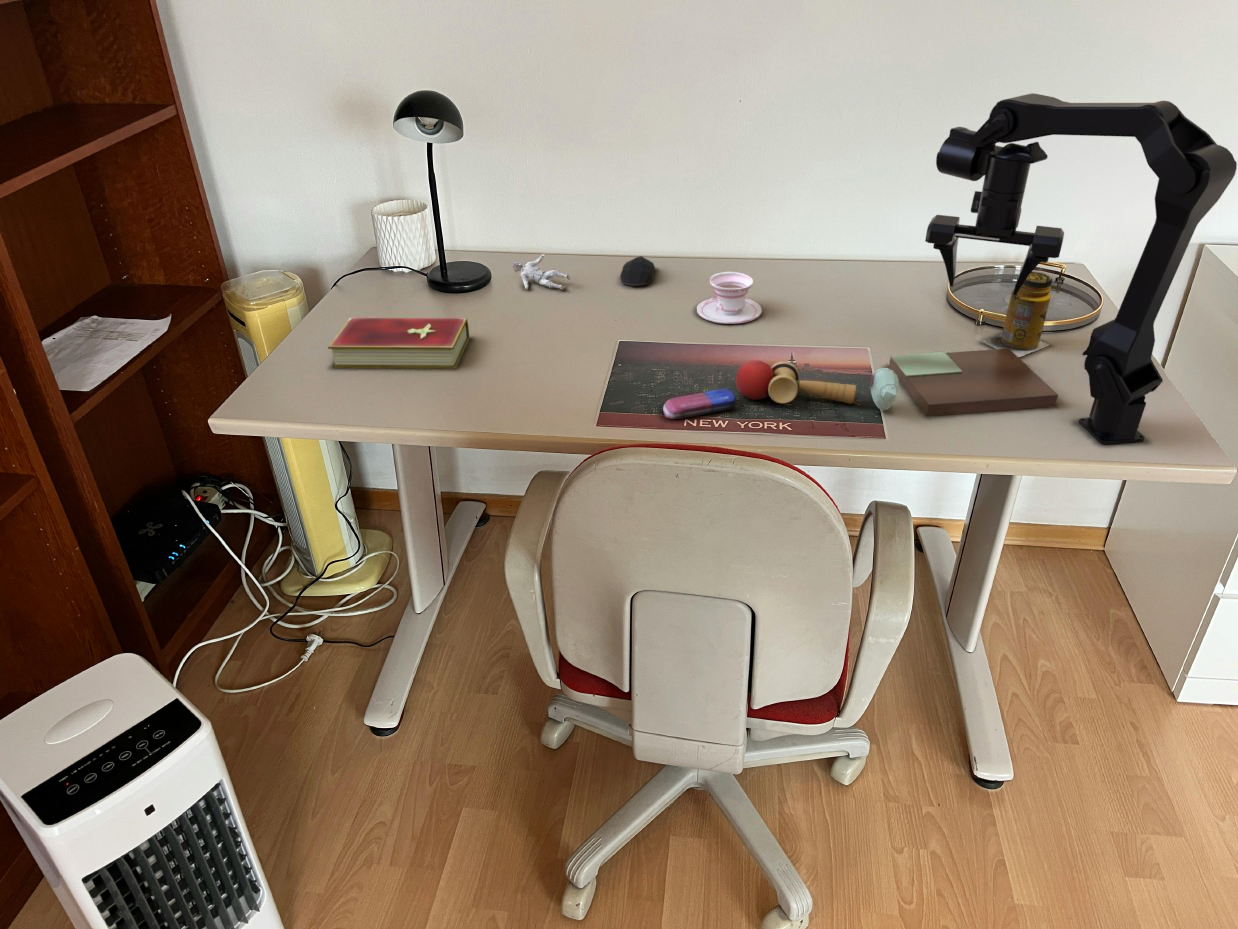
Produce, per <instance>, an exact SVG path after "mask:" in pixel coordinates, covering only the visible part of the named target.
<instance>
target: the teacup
mask: <svg viewBox="0 0 1238 929" xmlns="http://www.w3.org/2000/svg"><path fill="white" fill-rule="evenodd" d="M709 283H710V284H709V285H710V286H711V288H712V289H713V293H714V294H715V296H714V297H710V298H707V299H704V300H703V301H701V302H699V303H698V305H697V306H696V313H697V314H698V316H699V317H701V318H702V319H704V320H706V321H709V322H712V323H717V324H724V325H725V324H727V325H728V324H729V325H736V324H745V323H748V322H751V321H754V320H756V319H758V318H759V317H760V316H761V315H762V312H763V311H762V310H763V309H762V307H761V305H760V304H759V303H758V302H756V301H754V300H752V299H749V298H746V297H747V296H746V295H747V294H748V292H749V290H750V289H751V288H752V287H753V285H754V279H753V278H752V277H751V276H749V275H748V274H746V273H742V272H738V271H722V272H717V273H714V274H712V275H711V276H710V278H709Z"/></svg>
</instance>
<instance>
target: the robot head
mask: <svg viewBox="0 0 1238 929" xmlns="http://www.w3.org/2000/svg"><path fill="white" fill-rule="evenodd" d="M869 384H870V393H871V397H872V398H871V399H872V400H873V402H874V405H875V406H876V407H877V408H878V409H879V410H880V411H888V410H889V409H890V408H891V407H892V406H893V405H894V403H895V401H896V398H897V395H898V393H899V390H900V381H899V380H898V377H897V375H896V374H895V373H894V372H893V370H890V368H889V367H882V368H878V369H877V370H875V371H874V372H873V374H872V375H871V377H870V382H869Z"/></svg>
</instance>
